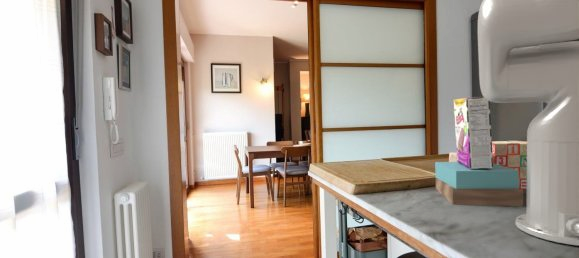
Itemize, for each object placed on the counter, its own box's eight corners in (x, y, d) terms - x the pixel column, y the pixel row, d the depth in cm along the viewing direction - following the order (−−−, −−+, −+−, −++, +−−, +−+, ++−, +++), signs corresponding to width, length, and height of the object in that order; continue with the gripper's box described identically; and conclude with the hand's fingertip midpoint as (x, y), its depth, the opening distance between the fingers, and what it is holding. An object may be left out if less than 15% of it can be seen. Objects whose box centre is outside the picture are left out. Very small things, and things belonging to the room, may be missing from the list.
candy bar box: (455, 162, 81) (452, 99, 80) (476, 161, 80) (474, 97, 79) (469, 170, 70) (465, 97, 70) (494, 169, 69) (491, 95, 68)
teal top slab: (518, 188, 68) (518, 170, 68) (456, 188, 70) (456, 171, 69) (487, 176, 81) (487, 161, 81) (435, 177, 83) (435, 162, 82)
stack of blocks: (457, 190, 82) (457, 143, 82) (448, 184, 89) (448, 141, 88) (545, 190, 80) (546, 142, 79) (529, 184, 86) (530, 140, 86)
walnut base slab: (522, 208, 67) (523, 190, 67) (452, 206, 70) (452, 189, 70) (493, 192, 81) (493, 177, 81) (435, 191, 84) (435, 176, 83)
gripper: (515, -34, 71) (515, 42, 72) (603, -43, 68) (602, 37, 69) (499, -20, 79) (499, 48, 79) (578, -27, 76) (577, 44, 76)
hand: (547, 43), depth 74 cm, fingers open, 9 cm apart
